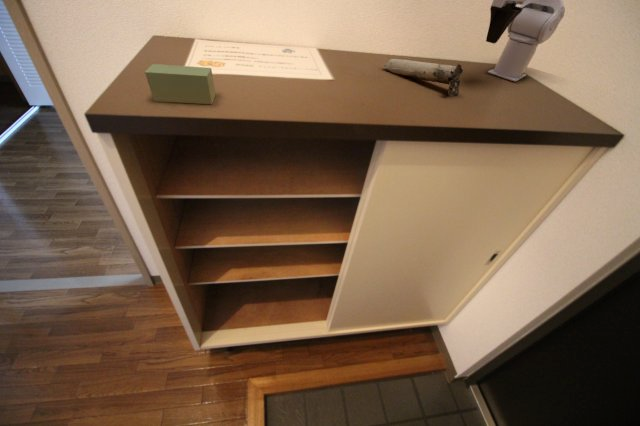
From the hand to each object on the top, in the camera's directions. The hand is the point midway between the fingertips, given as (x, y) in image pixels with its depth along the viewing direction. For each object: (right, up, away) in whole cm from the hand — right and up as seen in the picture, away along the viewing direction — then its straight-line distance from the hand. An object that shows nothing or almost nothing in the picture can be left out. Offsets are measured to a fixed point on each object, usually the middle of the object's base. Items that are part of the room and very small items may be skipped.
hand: (490, 42), depth 68 cm
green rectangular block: (-66, -20, -15) cm, 70 cm away
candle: (-17, -9, +2) cm, 19 cm away
